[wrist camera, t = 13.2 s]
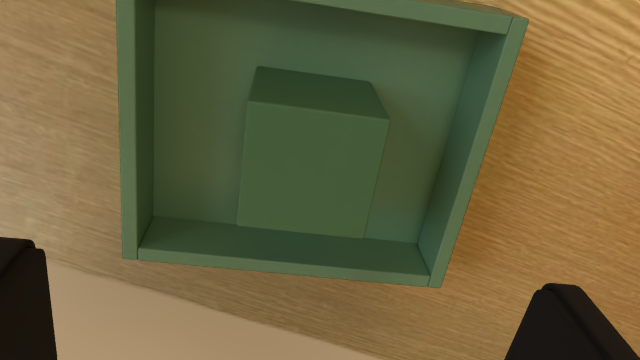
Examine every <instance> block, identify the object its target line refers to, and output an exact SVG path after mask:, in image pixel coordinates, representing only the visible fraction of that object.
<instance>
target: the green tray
mask: <svg viewBox="0 0 640 360" xmlns="http://www.w3.org/2000/svg"><path fill="white" fill-rule="evenodd" d="M528 23H529V19H527V18H524V17H521V16H518V15H516V14H513V13H510V12H507V11H504V10H501V9H499V8H496V7H492V6H486V5H480V4H474V3H468V2H461V1H455V0H116V25H117V63H118V101H119V140H120V178H121V216H122V255H123V258H124V259H133V260H137V259H138V260H142V261H153V262H164V263H175V264H185V265H196V266H207V267H217V268H228V269H239V270H249V271H260V272H271V273H282V274H292V275H303V276H314V277H324V278H335V279H346V280H357V281H367V282H378V283H389V284H399V285H410V286H421V287H427V286H428V287H433V288H440V287H441V285H442V282H443V279H444V276H445V273H446V270H447V267H448V264H449V261H450V258H451V255H452V252H453V249H454V246H455V243H456V240H457V237H458V234H459V231H460V228H461V225H462V222H463V219H464V216H465V212H466V209H467V206H468V203H469V200H470V197H471V194H472V191H473V188H474V185H475V182H476V179H477V176H478V173H479V170H480V167H481V164H482V161H483V158H484V155H485V152H486V149H487V146H488V143H489V140H490V137H491V134H492V131H493V128H494V125H495V122H496V119H497V116H498V113H499V110H500V107H501V104H502V101H503V98H504V95H505V92H506V89H507V86H508V83H509V80H510V77H511V74H512V71H513V68H514V65H515V62H516V59H517V56H518V53H519V50H520V47H521V44H522V41H523V38H524V35H525V32H526V29H527V26H528ZM257 66H264V67H271V68H278V69H285V70H292V71H299V72H306V73H313V74H320V75H327V76H334V77H341V78H348V79H355V80H362V81H369V82H371V84H372V86H373V88H374V89H375V91H376V93H377V95H378V97H379V99H380V101H381V102H382V104H383V106H384V108H385V110H386V112H387V113H388V115H389V117H390V119H391V124H390V129H389V133H388V137H387V142H386V146H385V150H384V155H383V159H382V163H381V167H380V172H379V176H378V180H377V185H376V189H375V193H374V198H373V202H372V206H371V210H370V215H369V219H368V223H367V228H366V232H365V236H364V238H363V239H358V238H349V237H339V236H329V235H320V234H310V233H301V232H291V231H281V230H272V229H262V228H252V227H243V226H237V225H236V217H237V206H238V195H239V185H240V174H241V163H242V153H243V142H244V132H245V121H246V110H247V101H248V98H249V94H250V90H251V86H252V82H253V79H254V75H255V71H256V68H257Z"/></svg>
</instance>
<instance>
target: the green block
mask: <svg viewBox="0 0 640 360" xmlns="http://www.w3.org/2000/svg"><path fill="white" fill-rule="evenodd" d="M390 124H391V119H390V117H389V115H388V113H387V112H386V110H385V108H384V106H383V104H382V102H381V101H380V99H379V97H378V95H377V93H376V91H375V89H374V88H373V86H372V84H371V82H369V81H362V80H355V79H348V78H341V77H334V76H327V75H320V74H313V73H306V72H299V71H292V70H285V69H278V68H271V67H264V66H257V68H256V71H255V75H254V79H253V82H252V86H251V90H250V94H249V98H248V101H247V110H246V121H245V132H244V142H243V153H242V163H241V174H240V185H239V195H238V206H237V217H236V225H237V226H243V227H252V228H262V229H272V230H281V231H291V232H301V233H310V234H320V235H329V236H339V237H349V238H358V239H363V238H364V236H365V232H366V228H367V223H368V219H369V215H370V210H371V206H372V202H373V198H374V193H375V189H376V185H377V180H378V176H379V172H380V167H381V163H382V159H383V155H384V150H385V146H386V142H387V137H388V133H389V129H390Z"/></svg>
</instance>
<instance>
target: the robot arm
mask: <svg viewBox="0 0 640 360" xmlns="http://www.w3.org/2000/svg"><path fill="white" fill-rule="evenodd" d="M0 360H57V352H56V343H55V335H54V327H53V318H52V308H51V300H50V291H49V282H48V275H47V265H46V256H45V252H44V250H43V249H37V248H36V247H35V244H34V242H33V241H32V240H30V239H18V238H6V237H0ZM504 360H640V358H639V357H638V356H637V354H636V353H635V352H634V351H633V350H632V348H631V347H630V346H629V345H628V344H627V342H626V341H625V340H624V339H623V338H622V336H621V335H620V334H619V333H618V332H617V330H616V329H615V328H614V327H613V326H612V324H611V323H610V322H609V321H608V320H607V318H606V317H605V316H604V315H603V314H602V312H601V311H600V310H599V309H598V308H597V306H596V305H595V304H594V303H593V302H592V300H591V299H590V298H589V297H588V296H587V294H586V293H585V292H584V291H583V290H582V289H581V288H580V287H579V286H576V285H568V284H556V283H548V284H545V285H544V286H543V287H542V289H541V290H537V291H536V292H535V293H534V295H533V297H532V299H531V301H530V304H529V306H528V308H527V310H526V313H525V315H524V317H523V319H522V321H521V324H520V326H519V328H518V330H517V333H516V335H515V337H514V339H513V341H512V344H511V346H510V348H509V350H508V353H507V355H506V357H505V359H504Z"/></svg>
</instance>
